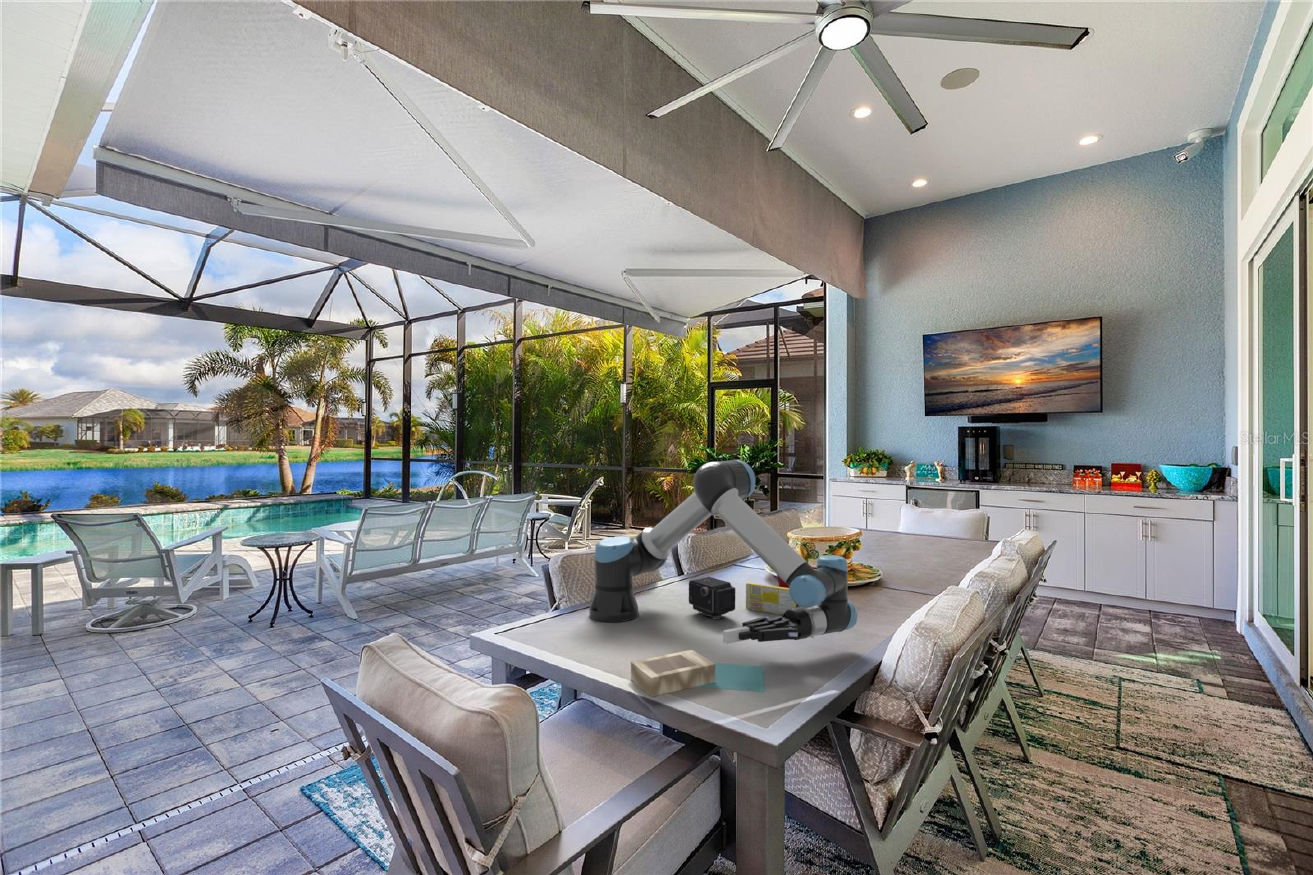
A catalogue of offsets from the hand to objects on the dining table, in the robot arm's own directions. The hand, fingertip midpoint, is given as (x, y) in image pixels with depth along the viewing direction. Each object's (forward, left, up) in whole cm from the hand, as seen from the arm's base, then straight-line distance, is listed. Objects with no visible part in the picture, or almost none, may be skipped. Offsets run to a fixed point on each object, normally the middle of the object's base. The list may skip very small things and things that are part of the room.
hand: (725, 637), depth 138 cm
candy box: (+12, +50, -9) cm, 52 cm away
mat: (-4, -3, -8) cm, 10 cm away
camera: (-6, +43, -9) cm, 45 cm away
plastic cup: (+19, +59, -9) cm, 63 cm away
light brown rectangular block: (-5, -3, -6) cm, 8 cm away
